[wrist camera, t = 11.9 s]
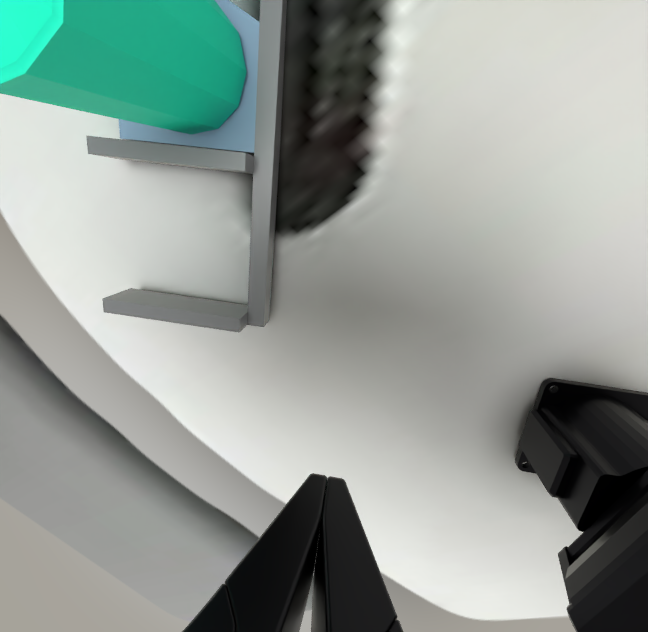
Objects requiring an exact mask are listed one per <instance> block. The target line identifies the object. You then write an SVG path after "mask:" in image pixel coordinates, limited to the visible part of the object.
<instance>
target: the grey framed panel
mask: <svg viewBox="0 0 648 632" xmlns="http://www.w3.org/2000/svg"><path fill="white" fill-rule="evenodd" d="M215 1H216V3H217V4H218V5H219V7H220V8H221V9H222V11H223V12H224V13H225V15H226V16H227V18H228V19H229V20H230V22H231V23H232V24H233V26H234V27H235V29H236V30H237V31H238V33H239V36H240V41H241V46H242V51H243V56H244V61H245V66H246V71H247V72H246V76H245V81H244V85H243V89H242V94H241V98H240V102H239V106H238V107H237V109H236V110H235V111H234V112H233V113H232V114H231V115H230V116H229V117H228V118H227V120H226V121H225V122H224V123H223V124H222V125H221V126H220V127H219V128H218V129H215V130H210V131H205V132H201V133H196V134H187V133H182V132H177V131H173V130H168V129H164V128H159V127H154V126H150V125H145V124H140V123H136V122H131V121H127V120H122V119H119V128H120V138H121V139H126V140H121V139H112V138H102V137H93V136H87V146H88V154H93V155H99V156H105V157H110V158H116V159H122V160H131V161H140V162H149V163H157V164H166V165H175V166H184V167H193V168H202V169H211V170H220V171H228V172H237V173H246V174H253V194H252V219H251V243H250V267H249V291H248V305H244V304H237V303H230V302H223V301H216V300H209V299H202V298H195V297H188V296H181V295H174V294H167V293H160V292H153V291H146V290H139V289H132V288H131V289H128V290H125V291H122V292H120V293H117V294H114V295H111V296H109V297H106V298H103V308H104V312H107V313H113V314H120V315H127V316H133V317H140V318H147V319H153V320H160V321H167V322H173V323H180V324H187V325H193V326H200V327H207V328H213V329H220V330H227V331H233V332H240V331H241V330H242V329H243V328H244V327H245V326H246V325H253V326H260V327H264V326H265V325H266V324H267V322H268V321H269V315H270V299H271V283H272V267H273V251H274V235H275V219H276V203H277V187H278V171H279V155H280V139H281V117H282V96H283V75H284V54H285V33H286V12H287V0H260V22H258V21H257V20H256V19H254V18H253V17H251V16H250V15H249V14H247V13H246V12H245V11H243V10H242V9H240V8H239V7H238V6H236V5H235V4H233V3H232V2H231V1H229V0H215ZM130 140H135V141H130ZM139 141H145V142H139ZM149 142H154V143H149ZM158 143H163V144H158ZM167 144H172V145H167ZM177 145H182V146H177ZM186 146H191V147H186ZM195 147H200V148H195ZM204 148H210V149H204ZM214 149H219V150H214ZM223 150H228V151H223ZM232 151H237V152H232ZM241 152H247V153H254V156H252V155H249V154H247V153H241Z"/></svg>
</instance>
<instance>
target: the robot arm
mask: <svg viewBox="0 0 648 632" xmlns="http://www.w3.org/2000/svg"><path fill="white" fill-rule="evenodd" d="M554 385H555V387H554V388H553V389H552V390H549V388H550V387H551V386H554ZM519 446H520V447H519V450H518V453H517V456H516V459H515V463H516V465H517V467H518V468H519V469H520V470H521V471H525V472H531V473H537V475H538V477H539V478H540V480H541V481H542V483H543V485H544V486H545V488H546V490H547V491H548V493H549V494H550V495H551V496H552V497H556V498H558V499H559V501H560V502H561V504H562V505H563V507H564V509H565V510H566V512H567V513H568V515H569V516H570V518H571V519H572V521H573V523H574V524H575V526H576V527H577V529H578V530H579V531H582V532H583V533H582V534H581V535H580V536H579V537H578V538H577V539H576V540H575V541H574V542H573V543H572V544H571V545H570V546H569V547H564V548H563V549H562V550H561V551H560V552H559V553H558V557H559V561H560V565H561V569H562V574H563V578H564V582H565V587H566V591H567V595H568V599H569V604H570V605H568V606H567V611H568V615H569V618H570V620H571V622H572V624H573V626H574V628H575V630H576V632H648V393H644V392H638V391H632V390H626V389H620V388H613V387H606V386H600V385H593V384H586V383H580V382H573V381H566V380H560V379H547V380H545V381H544V382H543V383H542V385H541V388H540V391H539V393H538V396H537V399H536V402H535V405H534V408H533V410H532V411H530V413H529V416H528V419H527V421H526V424H525V427H524V430H523V433H522V436H521V439H520V441H519ZM523 462H527V463H525V464H522V463H523ZM326 484H327V485H326ZM325 491H326V492H325ZM317 547H318V548H317ZM316 553H317V555H316ZM315 560H316V562H315ZM314 567H315V569H314ZM313 573H314V578H313ZM312 578H313V596H312V624H311V632H403V630H402V627H401V624H400V622H399V621H398V620H397V614H396V612H395V610H394V607H393V604H392V601H391V599H390V596H389V594H388V591H387V589H386V586H385V584H384V581H383V578H382V576H381V573H380V570H379V568H378V565H377V563H376V560H375V557H374V555H373V552H372V550H371V547H370V545H369V542H368V539H367V537H366V534H365V532H364V529H363V526H362V524H361V521H360V519H359V516H358V513H357V511H356V508H355V506H354V503H353V500H352V498H351V495H350V493H349V490H348V488H347V485H346V482H345V480H344V479H342V478H336V477H328V479H327V477H326V476H325V475H319V474H314V473H313V474H310V475H309V477H308V478H307V479H306V480H305V482H304V483H303V484H302V485H301V487H300V488H299V489H298V490H297V492H296V493H295V494H294V495H293V497H292V498H291V499H290V500H289V502H288V503H287V504H286V505H285V507H284V508H283V509H282V510H281V512H280V513H279V514H278V515H277V517H276V518H275V519H274V520H273V522H272V523H271V524H270V525H269V527H268V528H267V529H266V531H265V532H264V533H263V534H262V535H261V537H260V538H259V539H258V540H257V542H256V543H255V544H254V545H253V547H252V548H251V549H250V550H249V552H248V553H247V554H246V555H245V557H244V558H243V559H242V560H241V562H240V563H239V564H238V565H237V567H236V568H235V569H234V570H233V572H232V573H231V574H230V575H229V577H228V578H227V579H226V581H225V584H222V585H221V586H220V588H219V589H218V590H217V591H216V593H215V594H214V595H213V596H212V598H211V599H210V600H209V601H208V603H207V604H206V605H205V606H204V607H203V608H202V610H201V611H200V612H199V613H198V614H197V616H196V617H195V618H194V619H193V620H192V621H191V623H190V624H189V625H188V626H187V627H186V628H185V629H184V630H183V631H182V632H299V630H300V626H301V622H302V618H303V615H304V611H305V607H306V603H307V599H308V595H309V591H310V587H311V583H312Z"/></svg>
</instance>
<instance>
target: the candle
mask: <svg viewBox="0 0 648 632" xmlns="http://www.w3.org/2000/svg"><path fill="white" fill-rule="evenodd" d="M246 72H247V71H246V66H245V61H244V56H243V51H242V46H241V41H240V36H239V33H238V31H237V30H236V29H235V27H234V26H233V24H232V23H231V22H230V20H229V19H228V18H227V16H226V15H225V13H224V12H223V11H222V9H221V8H220V7H219V5H218V4H217V3H216V1H215V0H0V93H2V94H6V95H11V96H16V97H20V98H25V99H29V100H34V101H39V102H43V103H48V104H53V105H57V106H62V107H66V108H71V109H76V110H80V111H85V112H90V113H94V114H99V115H103V116H108V117H113V118H117V119H122V120H127V121H131V122H136V123H140V124H145V125H150V126H154V127H159V128H164V129H168V130H173V131H177V132H182V133H187V134H196V133H201V132H205V131H210V130H215V129H218V128H219V127H220V126H221V125H222V124H223V123H224V122H225V121H226V120H227V118H228V117H229V116H230V115H231V114H232V113H233V112H234V111H235V110H236V109H237V107H238V106H239V102H240V98H241V94H242V89H243V85H244V81H245V76H246Z"/></svg>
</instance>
